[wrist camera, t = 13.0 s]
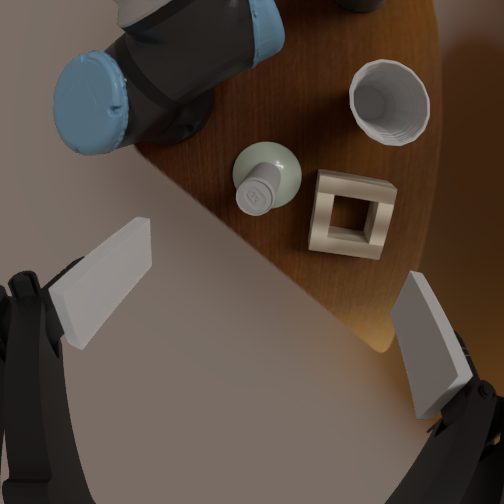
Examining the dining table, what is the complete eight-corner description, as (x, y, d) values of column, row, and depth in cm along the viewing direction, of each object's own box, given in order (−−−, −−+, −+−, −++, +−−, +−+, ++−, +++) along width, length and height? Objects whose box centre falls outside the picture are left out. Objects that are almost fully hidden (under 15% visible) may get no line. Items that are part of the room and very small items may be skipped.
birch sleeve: (318, 168, 43) (320, 175, 38) (388, 181, 41) (397, 189, 37) (308, 236, 48) (308, 249, 44) (373, 245, 47) (379, 259, 43)
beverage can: (263, 195, 45) (250, 224, 35) (245, 172, 44) (226, 193, 33) (287, 179, 43) (282, 203, 33) (269, 155, 42) (258, 170, 32)
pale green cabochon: (235, 138, 42) (234, 139, 42) (304, 145, 41) (305, 146, 40) (232, 202, 48) (231, 204, 47) (297, 210, 46) (297, 212, 46)
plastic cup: (395, 144, 38) (424, 157, 28) (331, 128, 39) (342, 133, 29) (405, 83, 33) (437, 76, 22) (340, 64, 34) (354, 48, 23)
